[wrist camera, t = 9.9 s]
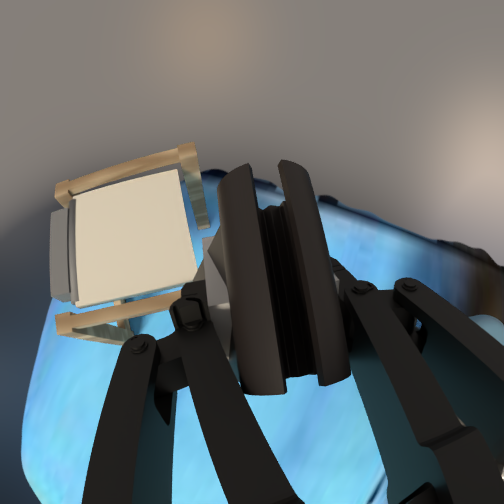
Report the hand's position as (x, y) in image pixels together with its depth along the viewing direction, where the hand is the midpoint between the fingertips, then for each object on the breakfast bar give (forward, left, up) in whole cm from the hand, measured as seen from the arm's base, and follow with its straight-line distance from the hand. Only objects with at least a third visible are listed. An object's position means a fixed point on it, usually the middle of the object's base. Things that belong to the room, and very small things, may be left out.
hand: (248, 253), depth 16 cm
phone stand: (-3, 0, -3) cm, 5 cm away
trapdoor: (+9, +12, -13) cm, 19 cm away
